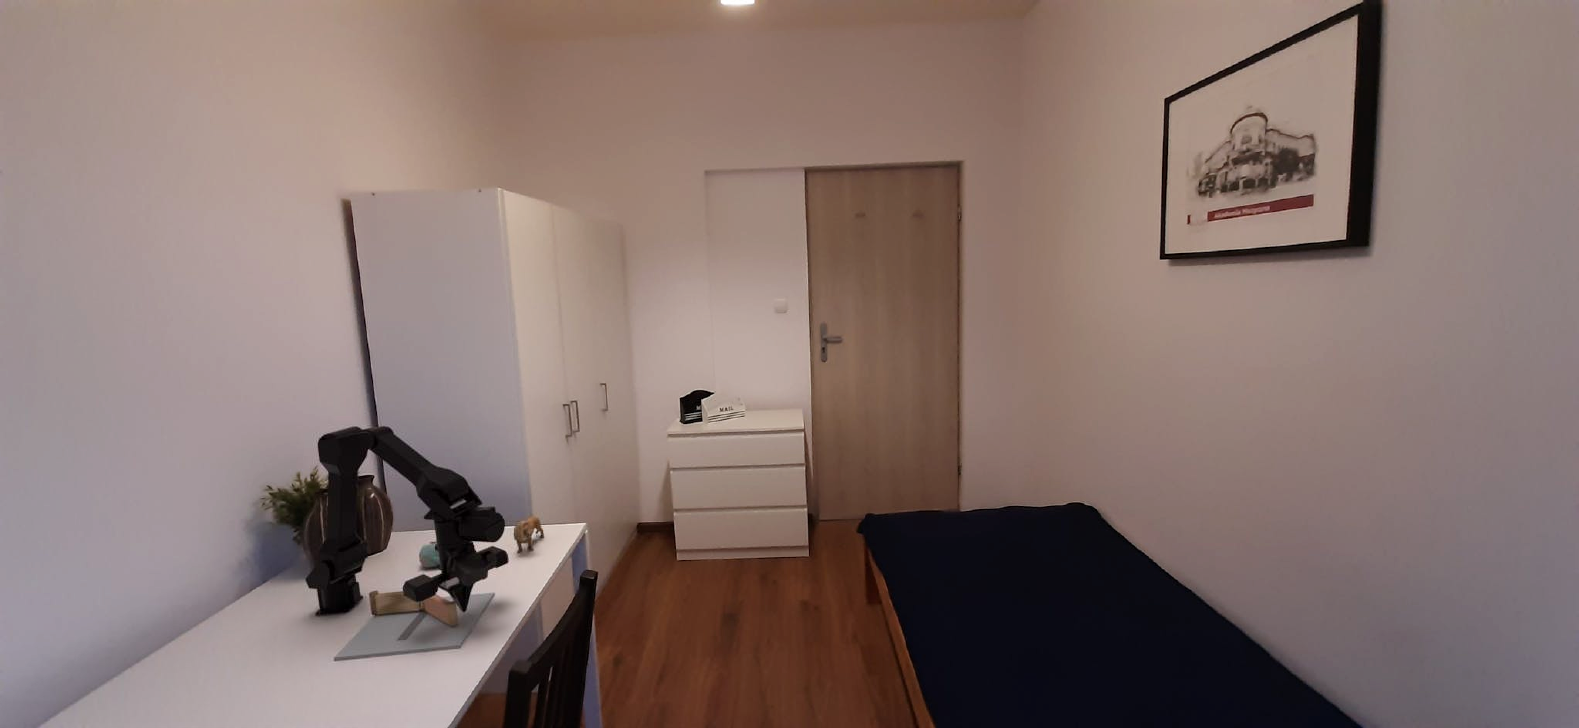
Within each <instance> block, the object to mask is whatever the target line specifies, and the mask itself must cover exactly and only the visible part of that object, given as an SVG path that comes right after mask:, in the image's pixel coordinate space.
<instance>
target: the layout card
mask: <svg viewBox="0 0 1579 728" xmlns="http://www.w3.org/2000/svg"><path fill="white" fill-rule="evenodd" d="M495 595H496V593H495V592H485V593H475V594H474V593H473V594H472V593H471V594H470V598H469V602H468V606H467V610H466V612H462V611H461V610H460V609H459V607H458V606H457V604H456V607H457V616H458V625H456V626H453V627H450V626H449V625H448V624H447V623H445V622H443V621H442V620H440V619H438V618H437V617H435V616H433V615H432V614H430V613H428V612H427V611H425V610H423V609H422V608H421V609H420V610H419V611H408V612H397V613H386V614H377V615H372V616H373V617H371V618H370V620H368V621H367V623H365V625H363V626H362V628H360V630H359V631H357V633H355V635H354V636H353V637H352V638H351V639H350V640H349V641H348V643H347V644H345V646H344V647H342V649H341V650H339V651H338V652H337V654H336V655H335V656H334V657H333V660H334V661H344V660H355V659H364V658H373V657H374V658H375V657H382V656H383V657H384V656H392V655H393V656H394V655H404V654H413V653H415V654H416V653H422V652H423V653H426V652H434V651H445V650H453V649H460V648H462V647H463V644H464V643H465V641H466V640H467V638H468V637H469V635H471V633H472V631H473V630H474V628H475V627H476V624H478V623H479V620H480V619H481V617H482V615H484V612H485V610H486V609H487V608H488V607H489V604H490V603H491V602H492V600H493V598H494V597H495ZM441 597H442V598H444V599H446V600H448V601H449V602H452V601H454V600H453V599H452V597H451V596H450V595H449V596H441ZM421 602H422V601H421Z"/></svg>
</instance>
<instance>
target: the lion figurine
mask: <svg viewBox="0 0 1579 728" xmlns="http://www.w3.org/2000/svg"><path fill="white" fill-rule="evenodd" d="M535 529H536V531H535ZM534 532H535V535H537V534H539V533H540V535H539V539H544V538H545V534H544V530H543V527H542V525H541V521H540V519H539V517H537V516H530V517H528V518H526V520H523V519H522V520H520V521H518V522H517V523H516V524H515V526H514V528H513V539H514V540H515V541H516V544H517V545H516V546H517V548H518V550H517V551H516V553H517V554H521V553H522V552H523V546H522V545H523V544H527V551H528V552H529V553H531V552H533V551H534V549H533V537H532V536H533V534H534Z"/></svg>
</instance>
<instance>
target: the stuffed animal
mask: <svg viewBox="0 0 1579 728" xmlns="http://www.w3.org/2000/svg"><path fill="white" fill-rule="evenodd" d="M434 545H437V540H436V539H435V541H430V542H428V543H427V544H426V543H425V544H423V545H422V547H421V549H420V551H419V553H418V558H419V559H418V560H419V562H420V565H421V566H423V567H425V568H436V567H437V568H438V566H437V565H438V564H440V560H439V553H438V551H436V550H435V546H434Z"/></svg>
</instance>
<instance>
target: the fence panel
mask: <svg viewBox="0 0 1579 728" xmlns="http://www.w3.org/2000/svg"><path fill="white" fill-rule="evenodd" d="M442 597H443V596H441V595H438V594H437V593H436V594H435V596H432V597H430V598H428V599H426V600H423V601H422V609H423V610H425V611H427V612H428V613H430V614H432V615H433V616H435V617H437V618H438V619H440V620H442V621H443V622H445V623H447V624H448V625H449V626H450V627H453V626H456V625H458V616H457V607H456V602H455V601H452V602H449V601H448V600H446V599H444V598H442Z"/></svg>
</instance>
